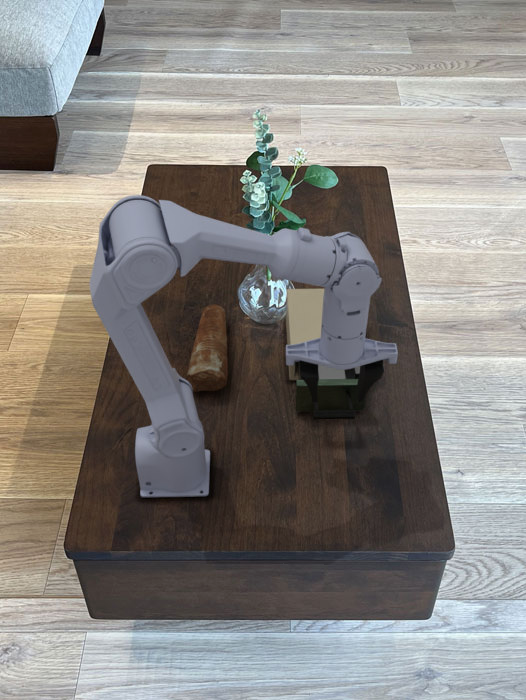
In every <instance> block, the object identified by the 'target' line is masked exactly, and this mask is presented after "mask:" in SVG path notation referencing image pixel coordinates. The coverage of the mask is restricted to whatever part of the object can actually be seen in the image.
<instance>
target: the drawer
mask: <svg viewBox="0 0 526 700" xmlns="http://www.w3.org/2000/svg"><path fill="white" fill-rule="evenodd" d="M297 369H298V380H295V381H296V382H295V407H294V409H295V412H298V413H299V412H312V419H313V421H315V420H317V421H320V420H322V421H323V420H325V421H326V420H355V419H356V411H359V412H360V411H361V412H362V411H365V405H366V397H367V395H366V396H365V398H364V401H363V402H358V396H357V383H358V378H359V373H360V366H358V367H355V368H351V369H346V370H345V377H346V379H324V380H319V381H318V388H317V394H318V401H317V402H312V396H311V393H310V390H309V388H308V386H307V384H306V383H305V382H304V381H303V380H302V378H301V375H300V367H299V362H297Z"/></svg>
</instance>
